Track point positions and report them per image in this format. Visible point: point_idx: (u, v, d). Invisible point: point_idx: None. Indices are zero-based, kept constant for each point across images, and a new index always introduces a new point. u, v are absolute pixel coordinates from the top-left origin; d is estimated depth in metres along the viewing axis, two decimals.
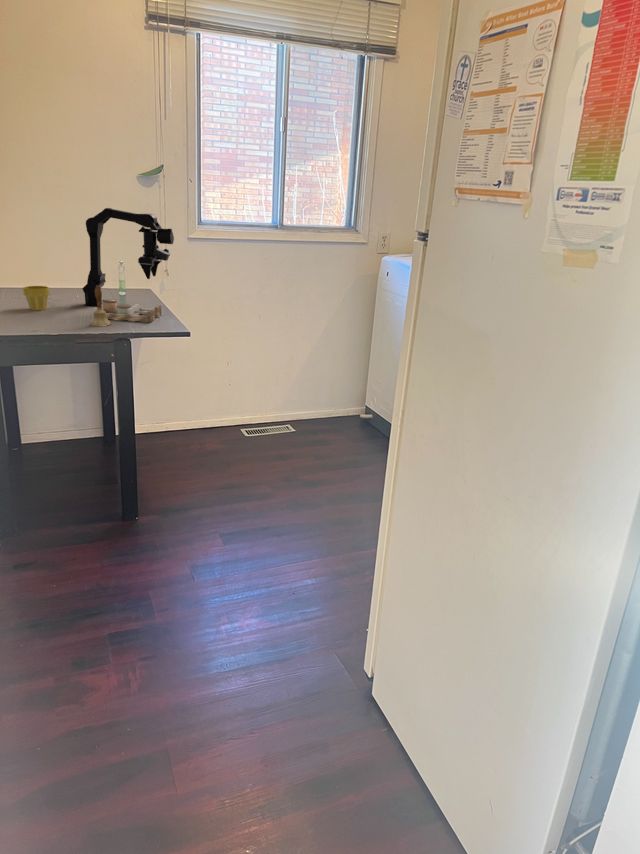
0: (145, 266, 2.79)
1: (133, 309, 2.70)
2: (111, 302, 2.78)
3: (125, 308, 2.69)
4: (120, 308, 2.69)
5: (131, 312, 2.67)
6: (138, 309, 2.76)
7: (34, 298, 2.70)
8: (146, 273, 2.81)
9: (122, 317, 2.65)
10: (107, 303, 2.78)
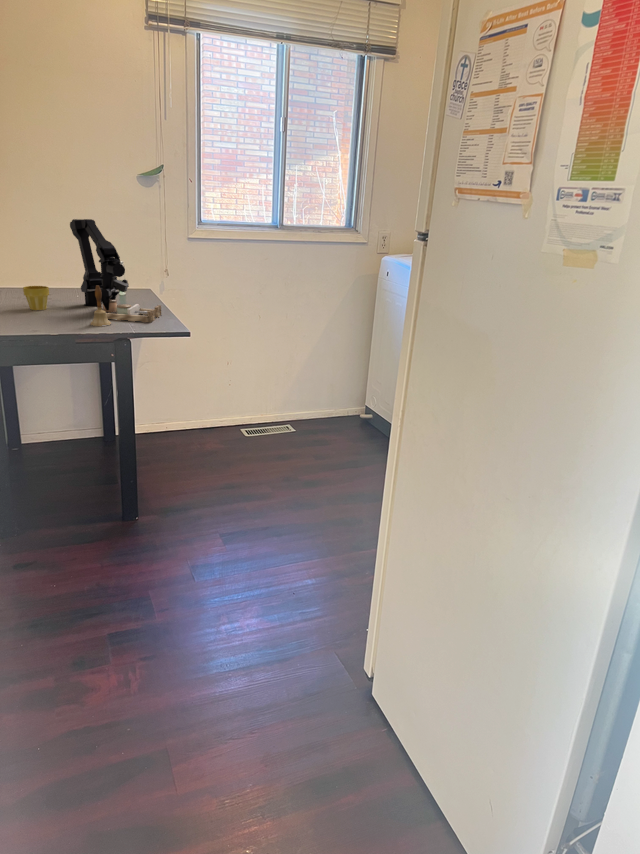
0: (104, 297, 2.76)
1: (133, 309, 2.70)
2: (111, 301, 2.78)
3: (125, 308, 2.69)
4: (120, 308, 2.69)
5: (131, 312, 2.67)
6: (138, 309, 2.76)
7: (34, 298, 2.70)
8: (105, 304, 2.77)
9: (122, 317, 2.65)
10: None
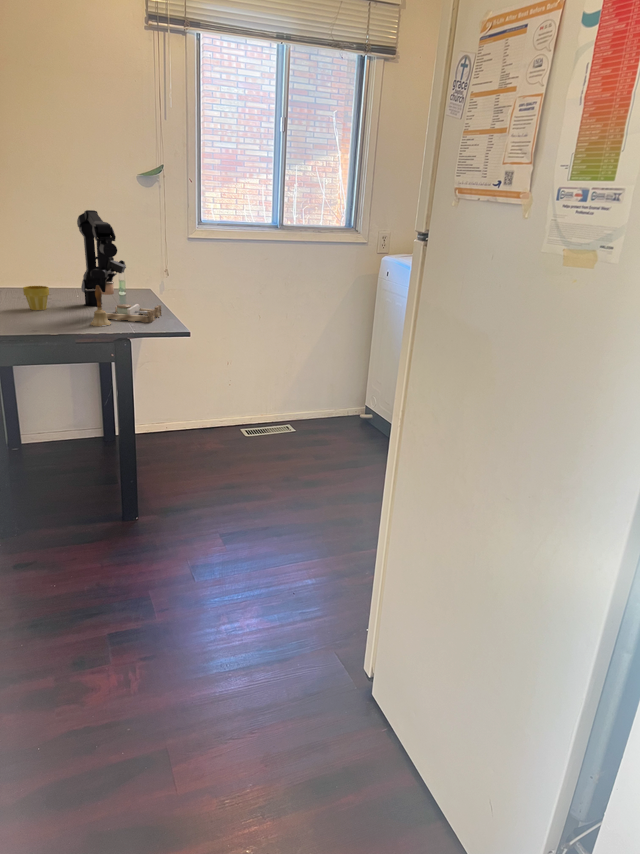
0: (100, 279, 2.63)
1: (133, 309, 2.70)
2: (107, 283, 2.65)
3: (125, 308, 2.69)
4: (120, 308, 2.69)
5: (131, 312, 2.67)
6: (138, 309, 2.76)
7: (34, 298, 2.70)
8: (101, 286, 2.64)
9: (122, 317, 2.65)
10: None
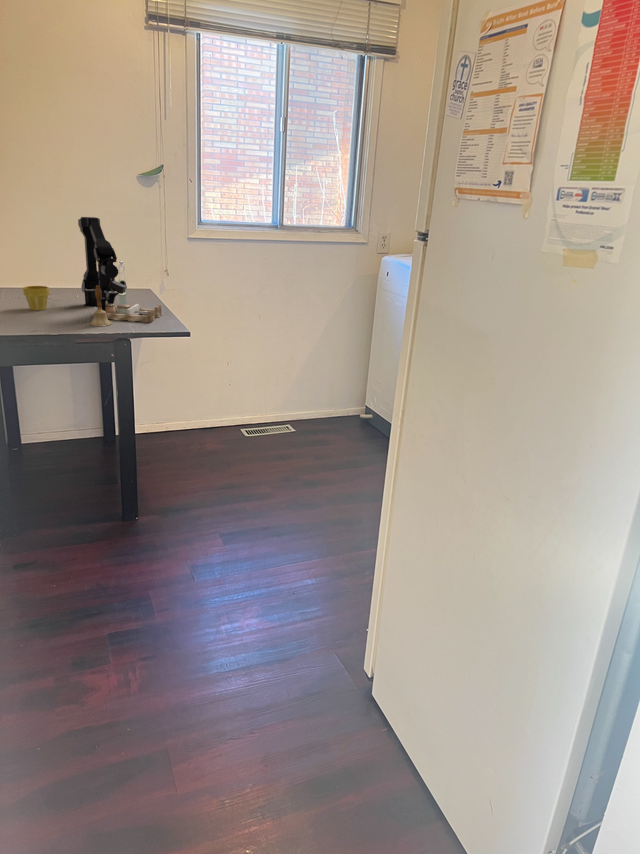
0: None
1: (133, 309, 2.70)
2: (108, 306, 2.69)
3: (125, 308, 2.69)
4: (120, 308, 2.69)
5: (131, 312, 2.67)
6: (138, 309, 2.76)
7: (34, 298, 2.70)
8: None
9: (122, 317, 2.65)
10: None
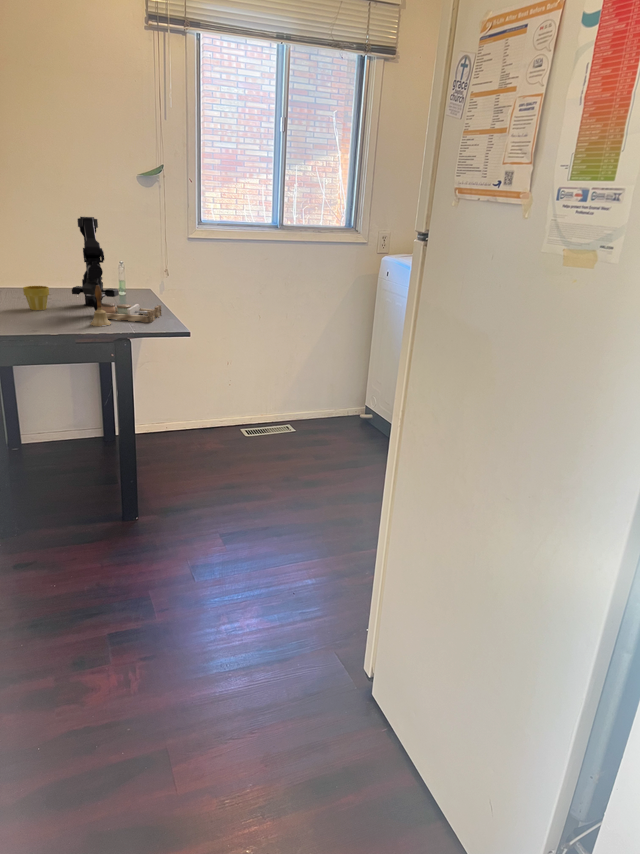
0: None
1: (133, 309, 2.70)
2: (109, 306, 2.69)
3: (125, 308, 2.69)
4: (120, 308, 2.69)
5: (131, 312, 2.67)
6: (138, 309, 2.76)
7: (34, 298, 2.70)
8: None
9: (122, 317, 2.65)
10: (105, 307, 2.69)
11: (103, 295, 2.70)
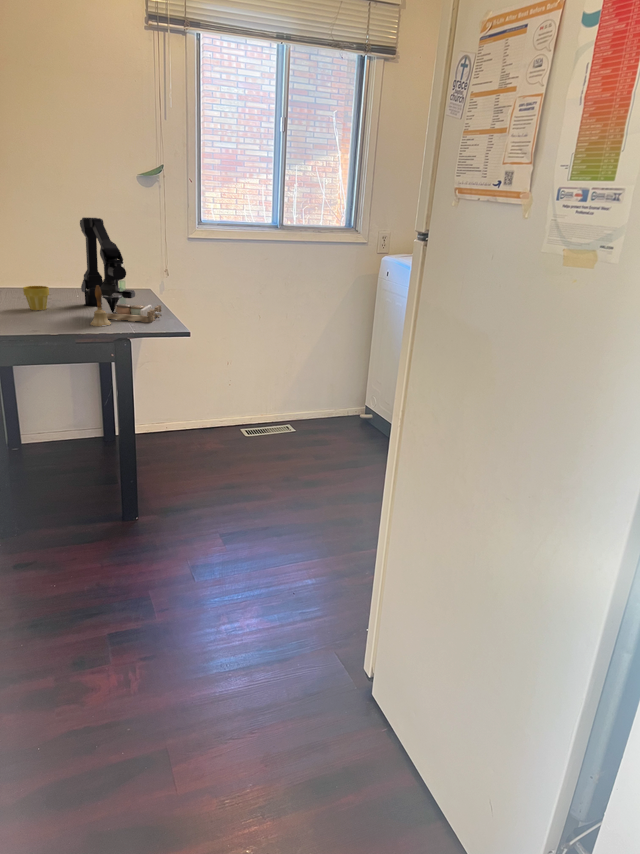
0: None
1: (146, 310, 2.69)
2: (125, 307, 2.69)
3: (139, 309, 2.69)
4: (134, 309, 2.68)
5: (144, 313, 2.67)
6: None
7: (34, 298, 2.70)
8: None
9: (122, 317, 2.65)
10: (121, 308, 2.69)
11: (119, 296, 2.70)
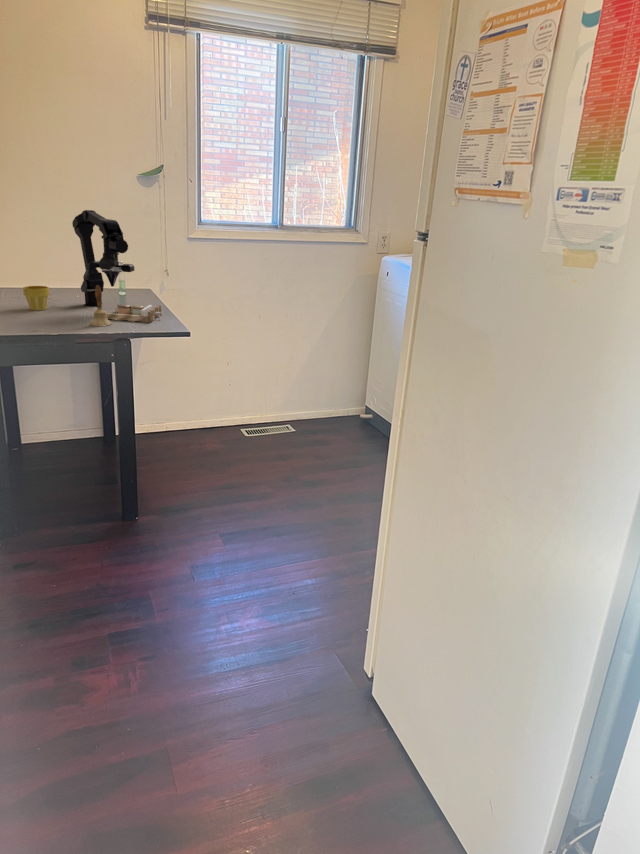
0: None
1: (146, 310, 2.69)
2: (125, 307, 2.69)
3: (139, 309, 2.69)
4: (134, 309, 2.68)
5: (144, 313, 2.67)
6: None
7: (34, 298, 2.70)
8: None
9: (122, 317, 2.65)
10: (122, 308, 2.68)
11: (119, 270, 2.73)
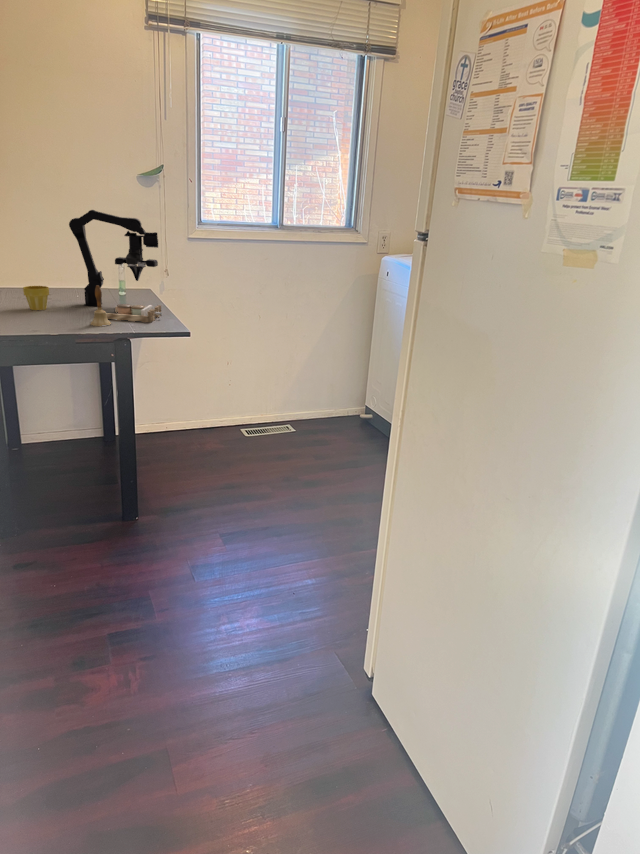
0: None
1: (146, 310, 2.69)
2: (125, 307, 2.69)
3: (140, 309, 2.69)
4: (134, 309, 2.68)
5: (144, 313, 2.67)
6: None
7: (34, 298, 2.70)
8: None
9: (122, 317, 2.65)
10: (122, 308, 2.68)
11: (144, 265, 2.90)
